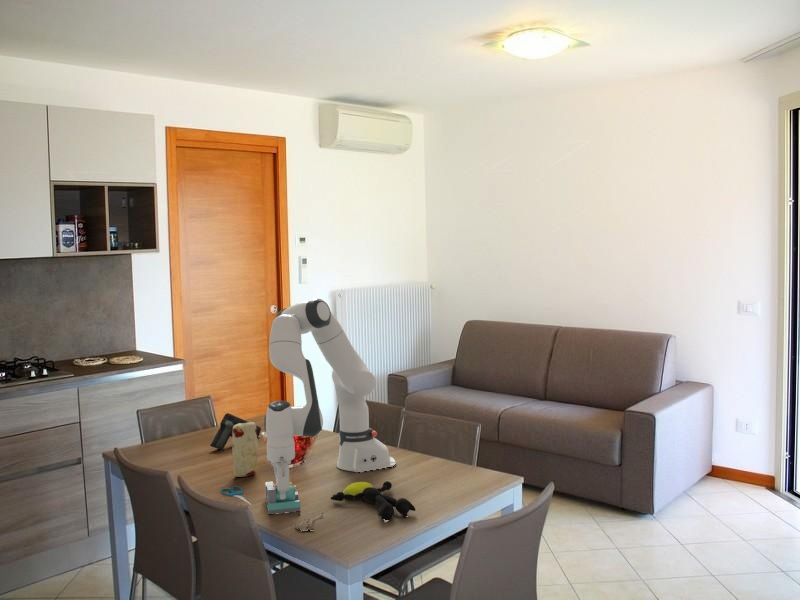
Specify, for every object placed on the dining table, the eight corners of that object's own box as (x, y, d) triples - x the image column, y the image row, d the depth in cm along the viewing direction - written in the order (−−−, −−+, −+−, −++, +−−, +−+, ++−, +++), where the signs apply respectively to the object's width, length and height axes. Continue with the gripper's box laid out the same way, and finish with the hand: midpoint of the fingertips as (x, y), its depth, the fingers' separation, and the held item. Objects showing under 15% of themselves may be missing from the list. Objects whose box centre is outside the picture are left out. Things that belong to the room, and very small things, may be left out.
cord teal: (294, 497, 230) (293, 483, 230) (295, 501, 226) (295, 487, 225) (267, 499, 228) (267, 485, 228) (268, 504, 224) (267, 490, 223)
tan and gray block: (291, 493, 238) (290, 479, 238) (292, 497, 234) (292, 483, 233) (265, 495, 236) (265, 482, 236) (266, 500, 232) (265, 486, 231)
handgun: (251, 460, 311) (261, 427, 317) (213, 446, 293) (225, 411, 298) (247, 459, 313) (257, 426, 318) (209, 445, 294) (221, 411, 299)
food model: (237, 480, 257) (235, 426, 255) (229, 476, 262) (227, 422, 260) (261, 475, 262) (260, 421, 261) (254, 470, 268) (252, 418, 266)
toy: (436, 510, 224) (381, 489, 249) (435, 491, 224) (380, 472, 248) (375, 529, 211) (324, 505, 235) (374, 509, 210) (323, 487, 234)
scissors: (237, 485, 250) (261, 502, 233) (237, 488, 250) (262, 505, 233) (219, 489, 246) (242, 506, 229) (219, 492, 246) (242, 509, 229)
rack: (296, 495, 240) (295, 485, 239) (300, 511, 225) (300, 501, 225) (266, 498, 237) (265, 488, 237) (268, 515, 223) (268, 504, 222)
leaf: (301, 537, 207) (301, 530, 207) (283, 519, 220) (283, 513, 220) (336, 529, 212) (336, 522, 212) (317, 512, 226) (317, 506, 225)
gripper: (293, 461, 216) (294, 505, 217) (288, 443, 236) (289, 484, 237) (272, 463, 215) (274, 508, 216) (269, 445, 235) (270, 486, 236)
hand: (282, 495), depth 227 cm, fingers closed on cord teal, 4 cm apart
